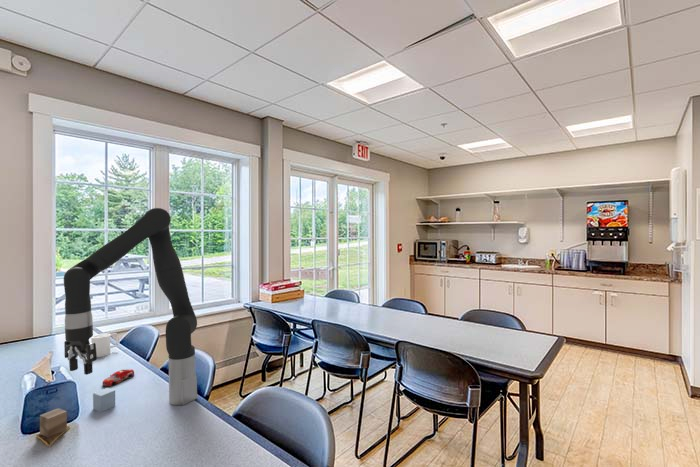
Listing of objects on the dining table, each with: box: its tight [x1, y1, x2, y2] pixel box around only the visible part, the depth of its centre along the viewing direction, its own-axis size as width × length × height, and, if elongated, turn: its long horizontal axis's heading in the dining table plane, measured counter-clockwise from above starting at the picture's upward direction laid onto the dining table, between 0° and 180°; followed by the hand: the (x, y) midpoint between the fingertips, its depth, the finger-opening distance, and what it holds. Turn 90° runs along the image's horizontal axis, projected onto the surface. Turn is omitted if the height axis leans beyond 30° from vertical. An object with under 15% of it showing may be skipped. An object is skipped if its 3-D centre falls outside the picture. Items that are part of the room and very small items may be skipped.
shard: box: [35, 425, 71, 447], centre depth 111 cm, size 11×8×2 cm
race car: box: [102, 368, 135, 387], centre depth 153 cm, size 13×5×4 cm, turn 161°
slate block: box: [92, 387, 116, 413], centre depth 130 cm, size 5×5×6 cm
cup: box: [90, 332, 119, 358], centre depth 187 cm, size 8×12×10 cm
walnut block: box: [39, 407, 68, 438], centre depth 112 cm, size 5×5×6 cm
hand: (81, 372), depth 120 cm, fingers open, 8 cm apart
